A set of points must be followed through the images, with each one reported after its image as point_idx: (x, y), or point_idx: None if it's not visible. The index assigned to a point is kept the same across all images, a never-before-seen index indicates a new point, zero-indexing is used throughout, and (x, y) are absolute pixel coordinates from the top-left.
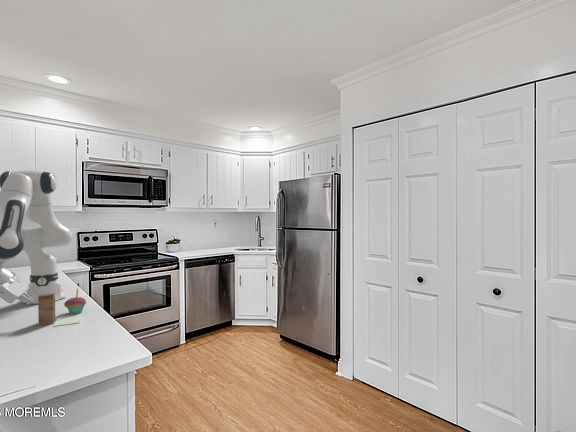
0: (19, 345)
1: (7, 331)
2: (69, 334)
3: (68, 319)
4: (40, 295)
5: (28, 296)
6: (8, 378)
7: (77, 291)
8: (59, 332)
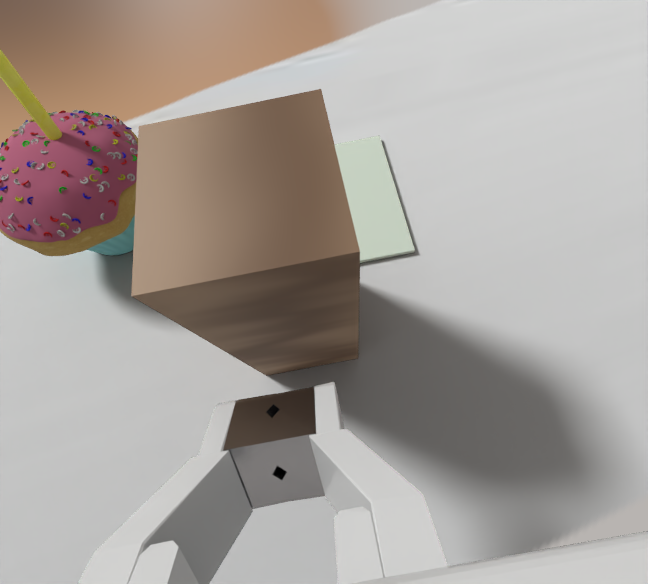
0: None
1: (453, 563)
2: (590, 122)
3: None
4: (289, 243)
5: (206, 481)
6: None
7: (8, 61)
8: (545, 179)
